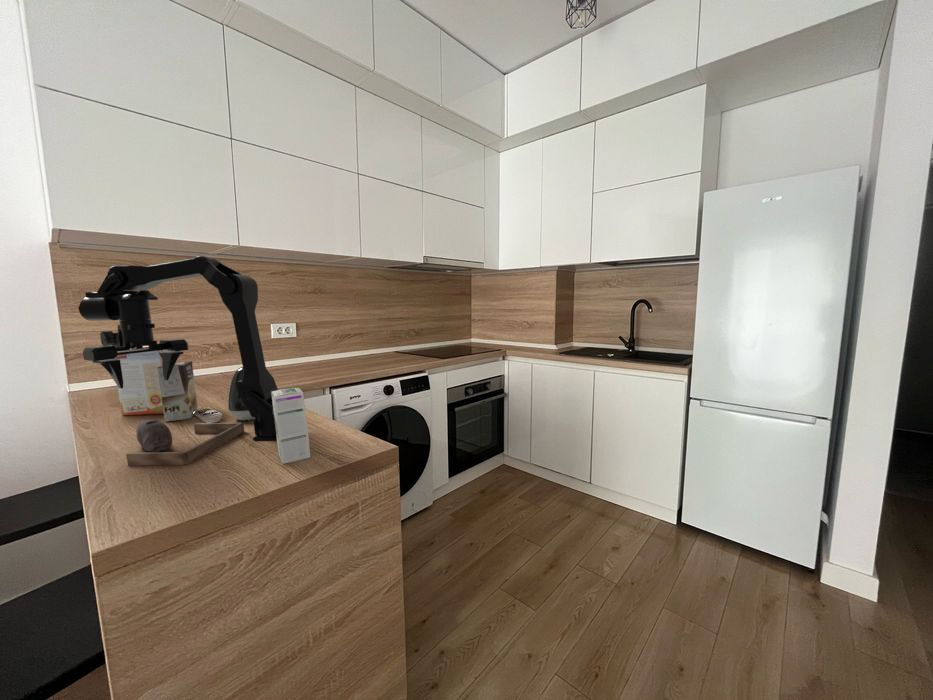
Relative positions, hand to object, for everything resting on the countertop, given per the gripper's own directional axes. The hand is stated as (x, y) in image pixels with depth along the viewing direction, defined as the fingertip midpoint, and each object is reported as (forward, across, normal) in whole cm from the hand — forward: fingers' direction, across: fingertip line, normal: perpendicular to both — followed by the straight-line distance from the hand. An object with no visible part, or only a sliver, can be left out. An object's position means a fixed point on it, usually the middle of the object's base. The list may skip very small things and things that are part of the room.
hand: (144, 384), depth 92 cm
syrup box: (+14, -6, +43) cm, 46 cm away
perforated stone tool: (+14, +3, +6) cm, 16 cm away
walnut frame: (+14, -1, +15) cm, 20 cm away
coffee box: (+14, -14, -15) cm, 26 cm away
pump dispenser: (+14, -21, +7) cm, 26 cm away
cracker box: (+15, -14, -30) cm, 36 cm away
